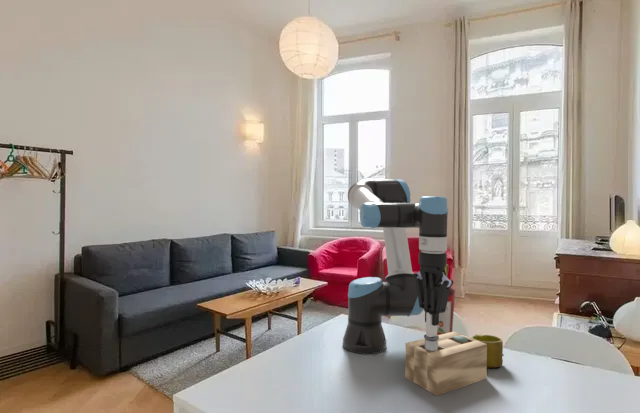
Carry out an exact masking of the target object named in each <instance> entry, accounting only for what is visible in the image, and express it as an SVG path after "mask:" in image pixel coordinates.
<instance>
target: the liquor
mask: <svg viewBox="0 0 640 413" xmlns="http://www.w3.org/2000/svg"><path fill="white" fill-rule="evenodd" d="M445 272H446V277H447V278H448V279H449V276H448V275H449V274H448V273H449V264H447V265H446V267H445ZM455 294H456V291H455V289H454V288H453V287H451V288H450V292H449V297H448V301H447V306H446V310H445V312H443V313H439V324H438V325H437V335H441V334H445V333H449V332H453V326H454V325H453V323H454V308H455Z"/></svg>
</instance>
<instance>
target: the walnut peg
mask: <svg viewBox="0 0 640 413" xmlns="http://www.w3.org/2000/svg"><path fill="white" fill-rule="evenodd" d="M464 336H465V335H464ZM464 336H454V337H453V341H455V342H457V343H460V344H464V343H468V338H466V337H464Z"/></svg>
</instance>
